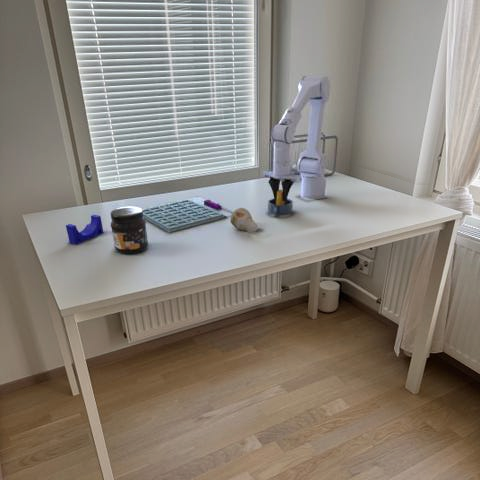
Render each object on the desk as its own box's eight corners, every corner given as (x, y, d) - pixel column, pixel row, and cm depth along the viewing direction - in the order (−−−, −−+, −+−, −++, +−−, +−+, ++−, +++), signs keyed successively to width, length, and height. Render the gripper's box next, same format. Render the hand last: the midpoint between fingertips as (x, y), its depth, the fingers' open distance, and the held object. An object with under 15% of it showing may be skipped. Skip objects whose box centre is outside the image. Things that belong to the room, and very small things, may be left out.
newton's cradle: (321, 170, 224) (324, 131, 215) (335, 175, 217) (338, 135, 207) (269, 178, 213) (270, 138, 203) (281, 183, 205) (282, 142, 196)
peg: (281, 209, 172) (282, 189, 168) (285, 211, 170) (286, 191, 166) (274, 210, 171) (275, 190, 167) (278, 212, 169) (279, 192, 165)
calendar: (133, 212, 175) (132, 206, 173) (196, 197, 189) (196, 191, 188) (169, 232, 156) (168, 225, 155) (236, 214, 170) (236, 208, 169)
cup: (271, 208, 176) (271, 197, 173) (294, 210, 173) (295, 199, 171) (263, 218, 166) (263, 206, 164) (287, 221, 164) (288, 208, 161)
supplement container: (110, 255, 140) (104, 217, 134) (120, 241, 149) (114, 205, 143) (144, 255, 140) (139, 217, 133) (152, 242, 149) (147, 205, 142)
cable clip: (94, 230, 158) (91, 213, 155) (103, 232, 156) (100, 215, 153) (66, 242, 150) (62, 224, 147) (75, 244, 148) (72, 227, 145)
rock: (249, 238, 151) (235, 210, 148) (237, 241, 160) (224, 215, 157) (266, 228, 153) (253, 200, 151) (254, 232, 162) (241, 206, 160)
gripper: (258, 161, 161) (257, 199, 168) (295, 166, 155) (293, 205, 162) (267, 157, 166) (267, 194, 173) (304, 161, 160) (302, 200, 167)
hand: (280, 199), depth 168 cm, fingers closed on peg, 3 cm apart
